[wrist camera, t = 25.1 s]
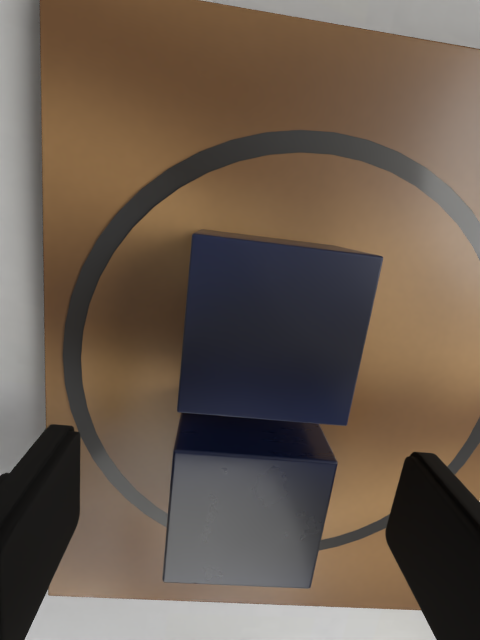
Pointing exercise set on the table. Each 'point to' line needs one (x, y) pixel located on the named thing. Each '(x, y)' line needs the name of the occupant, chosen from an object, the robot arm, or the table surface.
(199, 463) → the dark blue block
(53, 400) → the board
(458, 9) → the table surface
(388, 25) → the table surface
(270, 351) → the dark blue cube
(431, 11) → the table surface
